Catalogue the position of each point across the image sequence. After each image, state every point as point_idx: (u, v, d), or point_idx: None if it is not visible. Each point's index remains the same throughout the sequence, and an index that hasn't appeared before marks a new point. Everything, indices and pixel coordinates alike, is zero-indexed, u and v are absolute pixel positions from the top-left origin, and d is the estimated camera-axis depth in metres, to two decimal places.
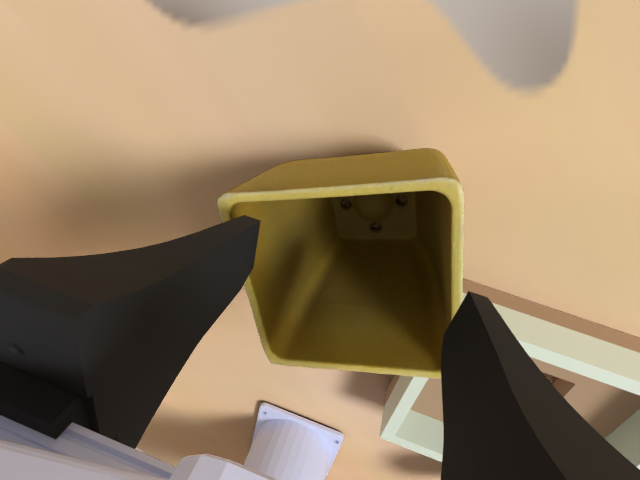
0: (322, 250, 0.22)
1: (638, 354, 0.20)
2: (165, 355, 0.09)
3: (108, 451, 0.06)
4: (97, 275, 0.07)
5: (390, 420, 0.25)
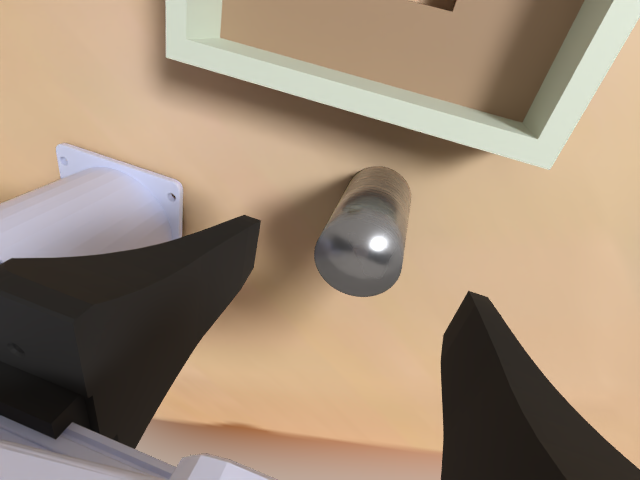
0: None
1: None
2: (165, 355, 0.09)
3: (108, 451, 0.06)
4: (97, 275, 0.07)
5: None
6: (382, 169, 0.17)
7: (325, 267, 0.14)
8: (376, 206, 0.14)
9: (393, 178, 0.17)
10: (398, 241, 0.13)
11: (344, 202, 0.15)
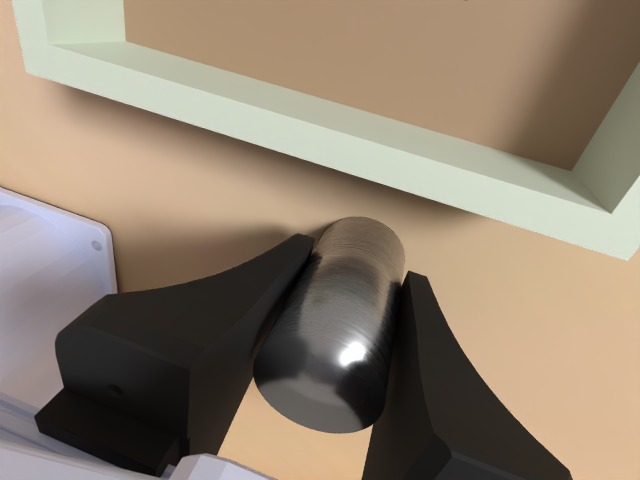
0: None
1: None
2: (237, 384, 0.09)
3: None
4: (189, 309, 0.07)
5: None
6: (364, 221, 0.13)
7: (270, 391, 0.09)
8: (347, 300, 0.09)
9: (379, 238, 0.12)
10: (379, 364, 0.08)
11: (303, 284, 0.10)
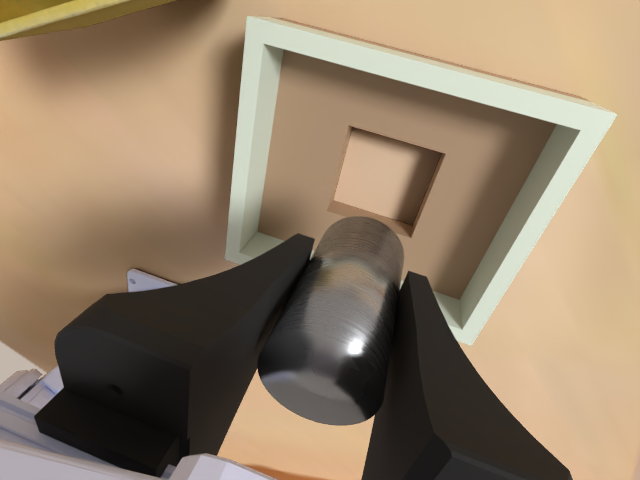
0: None
1: (509, 80, 0.15)
2: (237, 384, 0.09)
3: None
4: (189, 309, 0.07)
5: (228, 226, 0.20)
6: (362, 220, 0.13)
7: (275, 386, 0.10)
8: (345, 298, 0.09)
9: (377, 235, 0.12)
10: (377, 357, 0.09)
11: (304, 284, 0.10)
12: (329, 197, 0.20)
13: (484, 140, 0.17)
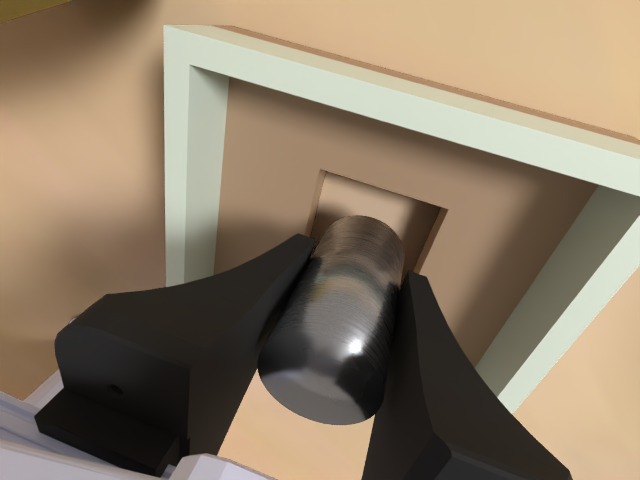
0: None
1: (539, 117, 0.11)
2: (238, 384, 0.09)
3: None
4: (189, 309, 0.07)
5: None
6: (363, 219, 0.13)
7: (276, 386, 0.10)
8: (345, 297, 0.09)
9: (377, 235, 0.12)
10: (377, 357, 0.09)
11: (304, 283, 0.10)
12: None
13: (501, 194, 0.12)
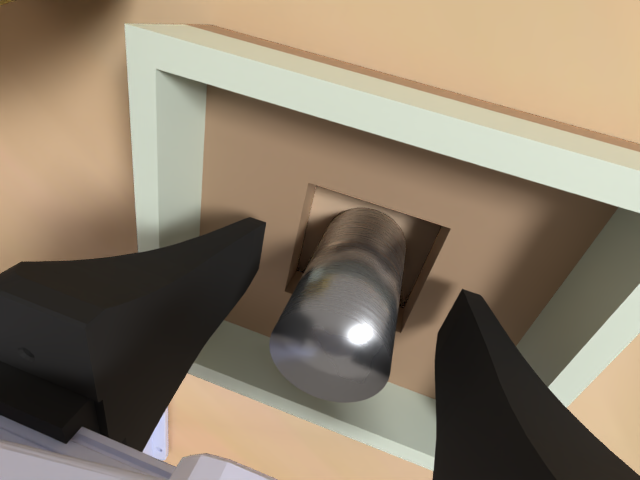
0: None
1: (554, 129, 0.10)
2: (173, 358, 0.09)
3: (108, 451, 0.06)
4: (106, 278, 0.07)
5: None
6: (366, 211, 0.14)
7: (286, 365, 0.10)
8: (352, 280, 0.10)
9: (381, 225, 0.13)
10: (384, 334, 0.09)
11: (312, 269, 0.11)
12: (286, 274, 0.14)
13: (510, 212, 0.11)
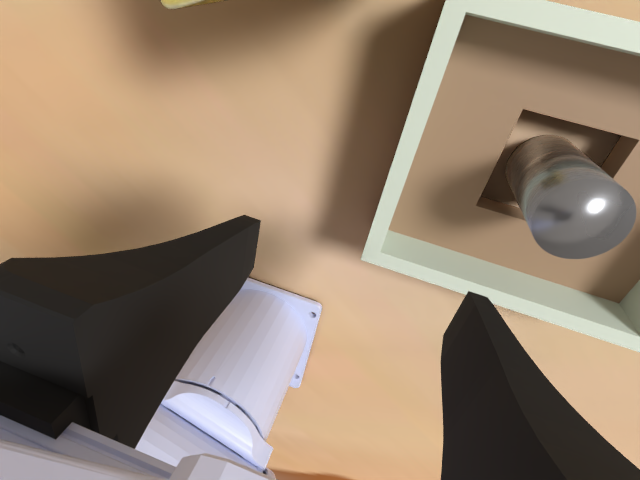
0: None
1: None
2: (165, 355, 0.09)
3: (108, 451, 0.06)
4: (97, 275, 0.07)
5: (373, 223, 0.18)
6: (553, 136, 0.17)
7: (542, 231, 0.14)
8: (592, 166, 0.14)
9: (572, 144, 0.17)
10: None
11: (546, 167, 0.15)
12: (481, 190, 0.18)
13: None
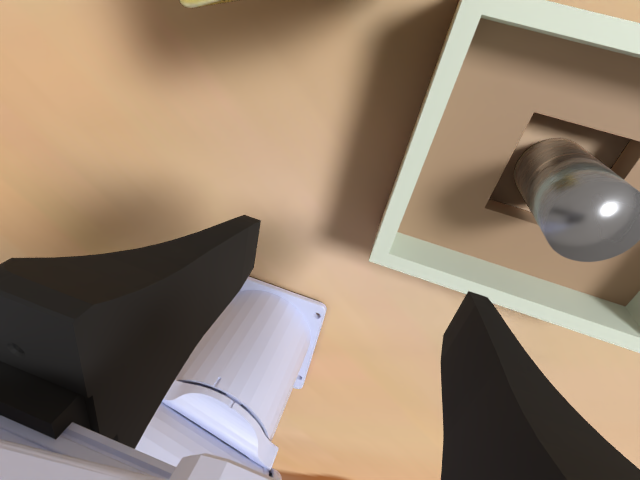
0: None
1: None
2: (165, 355, 0.09)
3: (108, 451, 0.06)
4: (97, 275, 0.07)
5: (383, 225, 0.18)
6: (562, 139, 0.17)
7: (556, 233, 0.14)
8: (605, 169, 0.14)
9: (581, 147, 0.17)
10: None
11: (557, 170, 0.15)
12: (490, 193, 0.18)
13: None
